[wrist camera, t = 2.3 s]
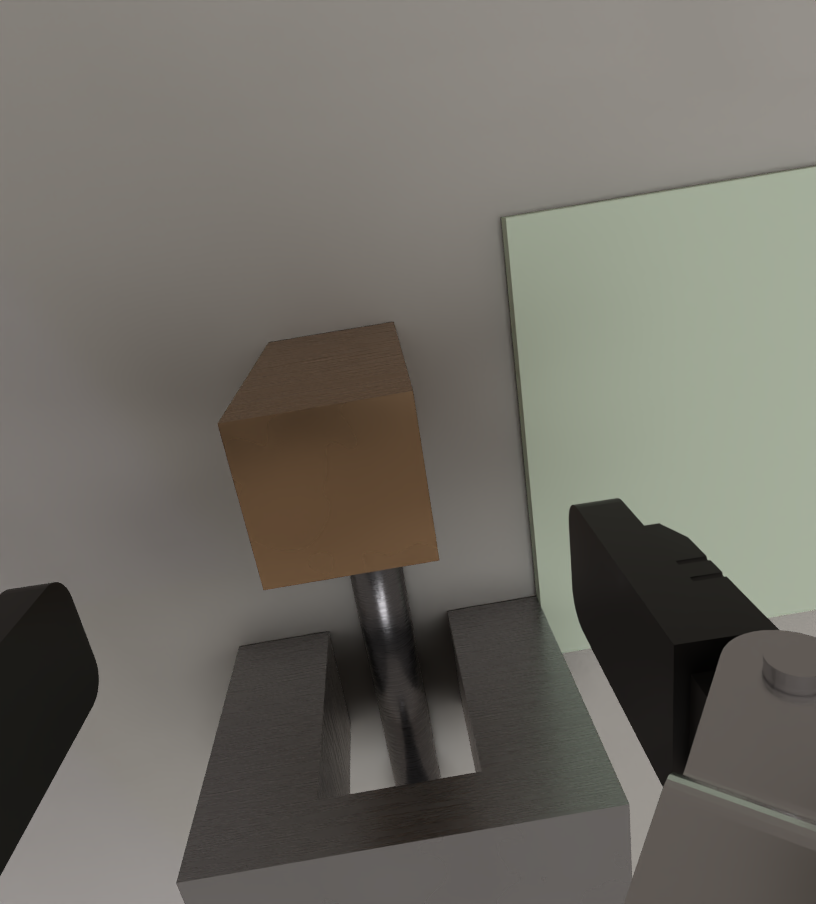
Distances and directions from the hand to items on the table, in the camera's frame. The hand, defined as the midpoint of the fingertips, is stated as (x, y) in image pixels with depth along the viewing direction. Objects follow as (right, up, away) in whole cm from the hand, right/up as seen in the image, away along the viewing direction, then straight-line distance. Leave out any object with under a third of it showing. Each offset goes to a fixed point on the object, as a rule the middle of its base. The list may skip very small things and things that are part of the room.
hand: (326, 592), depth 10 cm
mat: (+10, +3, +9) cm, 14 cm away
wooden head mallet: (0, -2, +11) cm, 11 cm away
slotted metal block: (+1, -5, +12) cm, 13 cm away
